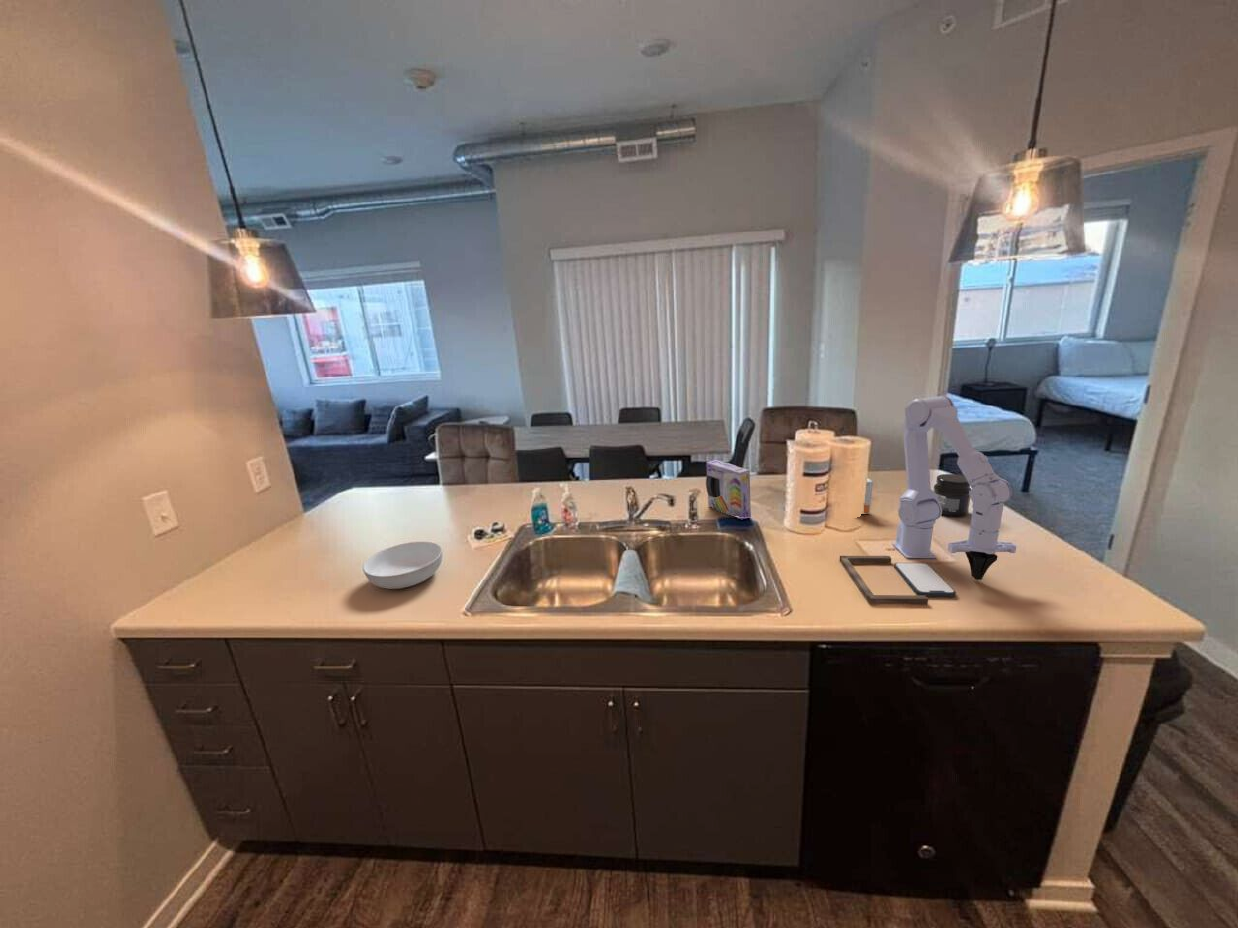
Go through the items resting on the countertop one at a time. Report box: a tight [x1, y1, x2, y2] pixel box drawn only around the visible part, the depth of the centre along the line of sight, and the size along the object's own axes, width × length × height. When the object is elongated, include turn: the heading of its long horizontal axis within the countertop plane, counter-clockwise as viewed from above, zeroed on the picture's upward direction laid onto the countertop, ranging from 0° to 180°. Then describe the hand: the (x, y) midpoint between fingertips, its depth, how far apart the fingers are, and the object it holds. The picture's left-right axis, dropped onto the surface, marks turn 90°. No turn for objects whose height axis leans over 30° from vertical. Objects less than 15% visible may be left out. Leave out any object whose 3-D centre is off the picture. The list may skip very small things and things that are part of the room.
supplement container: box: [933, 473, 972, 518], centre depth 165 cm, size 10×10×12 cm
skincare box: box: [864, 477, 874, 515], centre depth 168 cm, size 6×4×12 cm
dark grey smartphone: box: [893, 562, 957, 599], centre depth 126 cm, size 9×2×16 cm
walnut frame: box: [838, 555, 929, 606], centre depth 127 cm, size 22×13×2 cm, turn 174°
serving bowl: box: [362, 541, 443, 590], centre depth 141 cm, size 21×21×7 cm
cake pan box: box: [705, 459, 752, 517], centre depth 174 cm, size 19×5×18 cm, turn 28°
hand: (976, 577), depth 124 cm, fingers closed
